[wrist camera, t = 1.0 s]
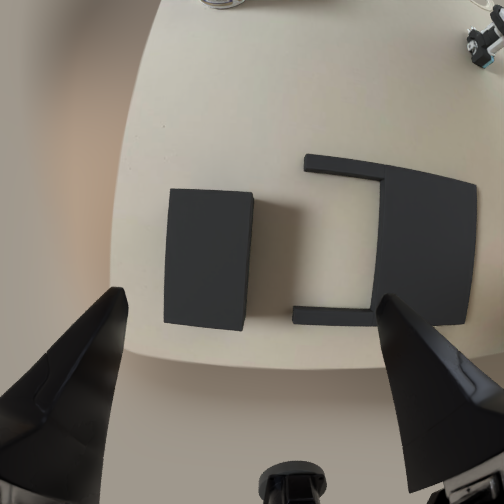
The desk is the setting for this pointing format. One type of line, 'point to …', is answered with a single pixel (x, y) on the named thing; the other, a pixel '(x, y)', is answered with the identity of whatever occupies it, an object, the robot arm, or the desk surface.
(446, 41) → the desk surface
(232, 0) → the pill bottle
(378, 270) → the base pad
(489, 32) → the push button
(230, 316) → the foam pad
